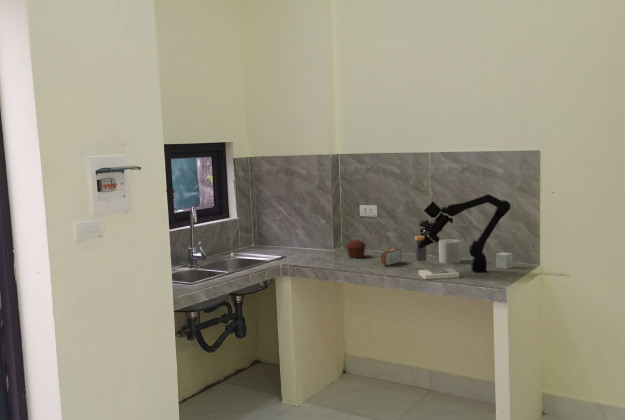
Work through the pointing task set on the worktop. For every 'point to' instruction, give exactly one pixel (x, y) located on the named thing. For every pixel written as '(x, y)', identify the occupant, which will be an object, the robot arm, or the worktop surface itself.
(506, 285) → the worktop surface
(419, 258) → the plug
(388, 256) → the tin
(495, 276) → the worktop surface
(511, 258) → the product box
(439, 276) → the socket plate
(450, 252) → the toilet paper roll
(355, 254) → the muffin
